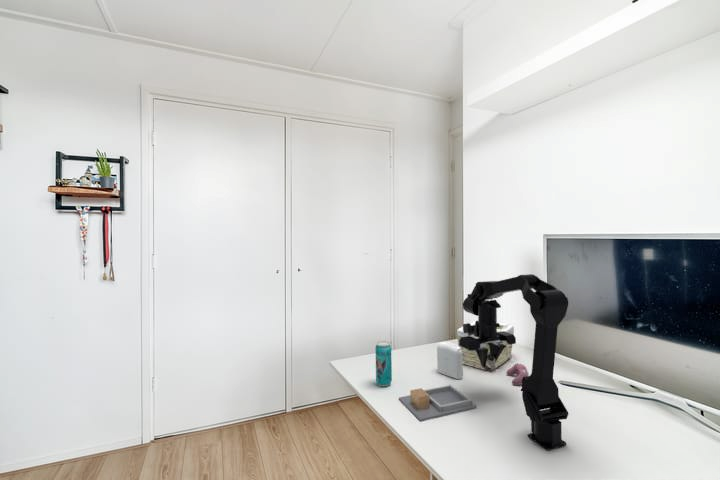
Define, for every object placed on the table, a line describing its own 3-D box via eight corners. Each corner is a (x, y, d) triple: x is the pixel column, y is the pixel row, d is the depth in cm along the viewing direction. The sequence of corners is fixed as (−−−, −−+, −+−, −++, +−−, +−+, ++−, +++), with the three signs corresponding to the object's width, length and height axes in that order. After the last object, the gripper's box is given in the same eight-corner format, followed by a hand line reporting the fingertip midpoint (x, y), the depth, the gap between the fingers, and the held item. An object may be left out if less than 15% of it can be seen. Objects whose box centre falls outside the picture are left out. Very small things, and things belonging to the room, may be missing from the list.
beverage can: (373, 385, 120) (372, 344, 120) (380, 379, 126) (379, 340, 125) (388, 389, 118) (387, 346, 118) (394, 382, 123) (393, 342, 123)
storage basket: (480, 349, 157) (479, 318, 157) (516, 357, 146) (515, 324, 145) (455, 364, 140) (455, 329, 139) (494, 375, 128) (493, 336, 128)
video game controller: (523, 391, 118) (533, 374, 117) (511, 384, 119) (520, 367, 118) (516, 379, 128) (524, 363, 127) (504, 373, 128) (513, 357, 128)
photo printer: (435, 372, 132) (435, 341, 131) (442, 369, 134) (442, 338, 134) (458, 380, 124) (457, 347, 123) (464, 377, 126) (464, 345, 126)
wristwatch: (489, 373, 107) (489, 358, 107) (477, 366, 113) (477, 351, 113) (498, 372, 108) (498, 357, 108) (486, 365, 114) (486, 350, 114)
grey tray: (476, 408, 104) (476, 393, 104) (420, 421, 97) (420, 405, 97) (449, 388, 117) (449, 375, 117) (398, 399, 110) (398, 385, 110)
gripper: (492, 311, 121) (493, 354, 121) (449, 316, 115) (449, 361, 115) (516, 318, 110) (517, 365, 111) (470, 324, 104) (470, 374, 104)
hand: (487, 366), depth 110 cm, fingers closed on wristwatch, 3 cm apart
